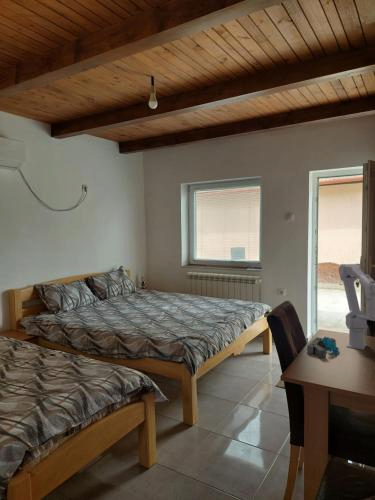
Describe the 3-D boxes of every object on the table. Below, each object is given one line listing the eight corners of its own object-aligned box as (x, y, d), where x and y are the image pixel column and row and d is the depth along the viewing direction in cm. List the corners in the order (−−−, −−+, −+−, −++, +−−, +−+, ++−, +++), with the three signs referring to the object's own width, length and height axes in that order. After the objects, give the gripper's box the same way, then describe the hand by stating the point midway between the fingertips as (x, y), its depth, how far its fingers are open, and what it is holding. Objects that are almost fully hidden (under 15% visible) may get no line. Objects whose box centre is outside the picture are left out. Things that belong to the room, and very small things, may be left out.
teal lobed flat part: (334, 354, 169) (321, 336, 175) (325, 361, 172) (312, 343, 178) (344, 352, 177) (331, 334, 182) (335, 358, 180) (323, 341, 185)
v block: (318, 342, 191) (318, 335, 191) (336, 346, 186) (336, 338, 185) (304, 355, 173) (305, 347, 172) (324, 359, 167) (324, 351, 167)
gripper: (355, 307, 169) (354, 335, 170) (389, 311, 161) (389, 341, 162) (358, 305, 175) (357, 332, 176) (391, 308, 167) (390, 337, 167)
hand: (372, 336), depth 169 cm, fingers closed
